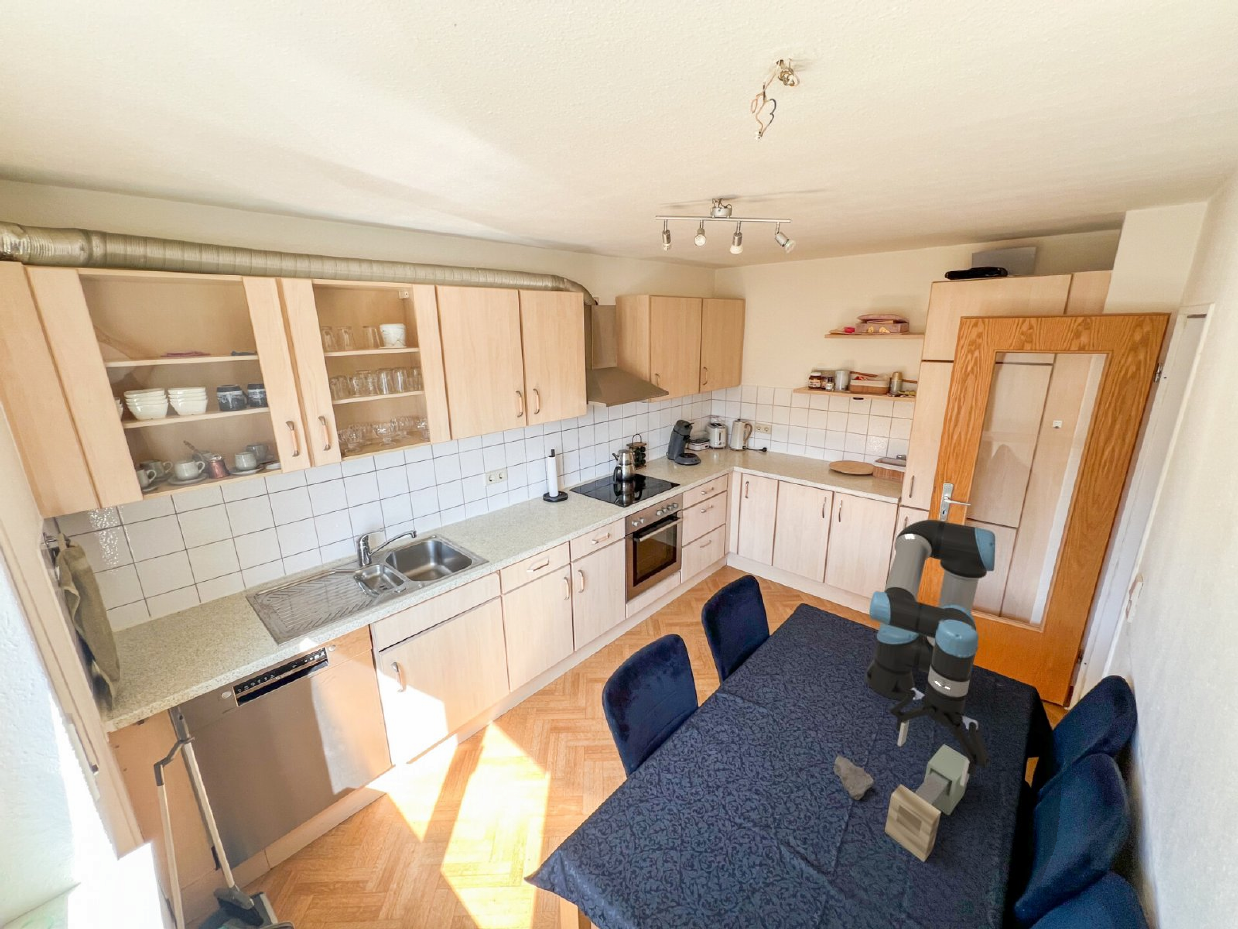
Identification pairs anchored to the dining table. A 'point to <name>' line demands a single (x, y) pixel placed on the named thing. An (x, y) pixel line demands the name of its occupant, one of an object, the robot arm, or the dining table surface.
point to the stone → (852, 777)
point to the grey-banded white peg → (934, 788)
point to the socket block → (912, 822)
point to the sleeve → (948, 775)
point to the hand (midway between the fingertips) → (931, 762)
